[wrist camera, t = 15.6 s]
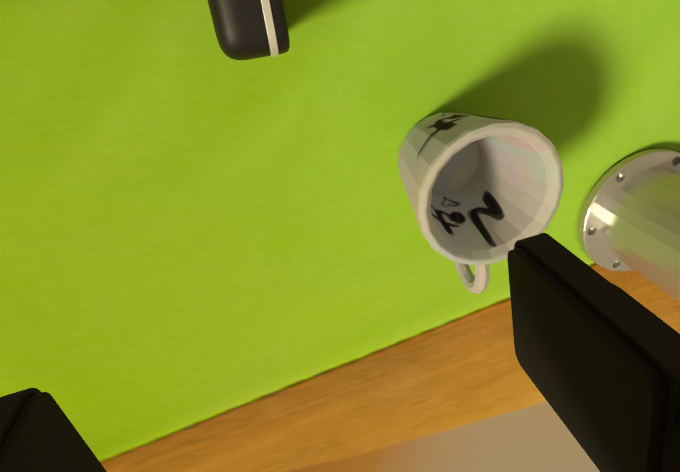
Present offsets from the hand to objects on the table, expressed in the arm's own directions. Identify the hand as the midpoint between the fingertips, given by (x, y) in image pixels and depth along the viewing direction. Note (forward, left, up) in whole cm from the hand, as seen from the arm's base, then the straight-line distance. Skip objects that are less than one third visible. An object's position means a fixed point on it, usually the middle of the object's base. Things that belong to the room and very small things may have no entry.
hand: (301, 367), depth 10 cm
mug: (-13, +11, -31) cm, 35 cm away
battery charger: (-1, -7, -31) cm, 31 cm away
